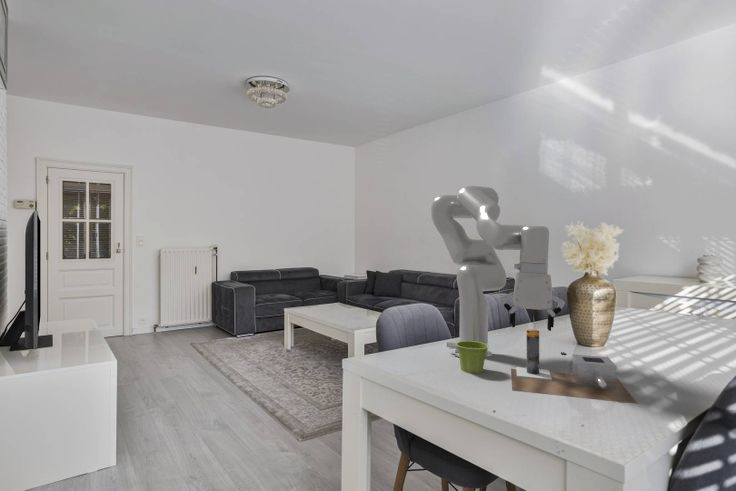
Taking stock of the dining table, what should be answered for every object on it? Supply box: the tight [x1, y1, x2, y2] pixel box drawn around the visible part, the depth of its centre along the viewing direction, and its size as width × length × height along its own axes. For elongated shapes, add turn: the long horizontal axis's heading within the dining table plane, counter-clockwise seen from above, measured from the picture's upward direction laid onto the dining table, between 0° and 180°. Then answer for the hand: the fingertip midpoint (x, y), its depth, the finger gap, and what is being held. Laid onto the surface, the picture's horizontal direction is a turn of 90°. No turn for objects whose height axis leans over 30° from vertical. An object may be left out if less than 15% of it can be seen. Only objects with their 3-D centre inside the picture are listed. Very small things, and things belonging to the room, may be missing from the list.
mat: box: [515, 366, 552, 381], centre depth 121 cm, size 9×9×1 cm
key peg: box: [526, 329, 540, 374], centre depth 121 cm, size 3×3×12 cm
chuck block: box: [571, 354, 617, 389], centre depth 111 cm, size 9×17×6 cm, turn 162°
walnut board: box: [510, 368, 639, 405], centre depth 113 cm, size 28×20×1 cm
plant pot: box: [455, 341, 489, 374], centre depth 125 cm, size 9×9×9 cm
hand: (531, 328), depth 122 cm, fingers open, 9 cm apart
